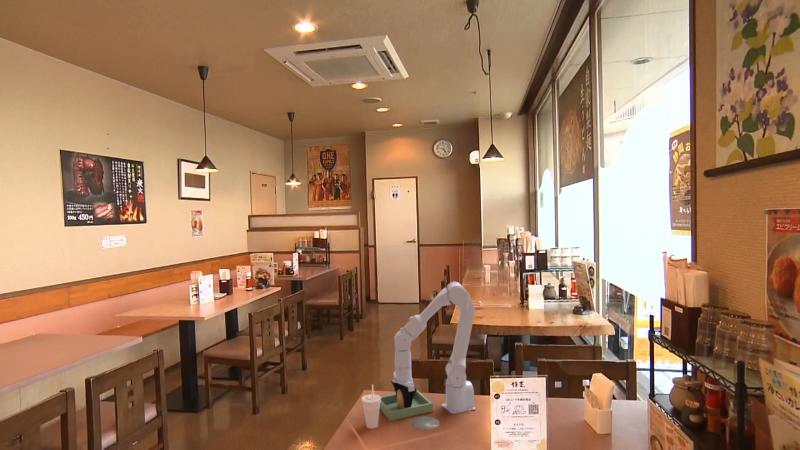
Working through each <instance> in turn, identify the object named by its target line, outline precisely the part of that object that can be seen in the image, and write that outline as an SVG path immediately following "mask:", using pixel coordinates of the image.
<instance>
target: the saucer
mask: <svg viewBox="0 0 800 450" xmlns="http://www.w3.org/2000/svg"><path fill="white" fill-rule="evenodd" d="M411 426H413V428H414V429H417V430H421V431H430V430H434V429H437V428H438V427H439V426H440V421H439V420H438V419H437V418H435V417H432V416H419V417H416V418H414V419H412V421H411Z"/></svg>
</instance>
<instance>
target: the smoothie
mask: <svg viewBox="0 0 800 450" xmlns="http://www.w3.org/2000/svg"><path fill="white" fill-rule="evenodd" d="M374 392H375V391H374V384H371V393H369V394H365V395H363V396H362V397H361V402H360V403H361V404H362V408H363V414H364V420H365V426H366V428H367V429H376V428H378V427H379V420H380V419H379V418H380V402H381V397H382V396H381V395H379V394H376V393H374Z"/></svg>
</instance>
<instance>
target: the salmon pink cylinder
mask: <svg viewBox="0 0 800 450" xmlns="http://www.w3.org/2000/svg"><path fill="white" fill-rule="evenodd" d="M397 408H398V410H399V409H404V408H405V407H404V401H403V396H402V393H401V391H400V389H399V390H397Z"/></svg>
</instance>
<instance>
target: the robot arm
mask: <svg viewBox="0 0 800 450" xmlns="http://www.w3.org/2000/svg"><path fill="white" fill-rule="evenodd" d="M451 303H452V304H454V305H455V306H456V307H457V308H458V309H459V318H458V322H457V327H456V333H455V338H454V343H453V348H452V353H451V355H450V356H449V357H450V358H449V360H448V362H447V363H446V364H445V373H446V376H447V378H446V380H445V403H442V404H441V407H443V408H444V409H446V410H447V411H448V412H449V413H450V414H453V415H454V414H457V413H462V412H466V411H475V410H476V407H475V390H474V386H473V384H472V382H471V381H470V380H467V374H466V369H467V365H466V364H467V362H466V361H467V360H466V358H467V354H468V353H467V352H468V350H469V349H468V348H469V343H470V339H471V334H472V329H473V323H474V320H475V319H474V318H475V313H476V308H475V305H474V302H473V300H472V297H471V295H470V293H469V292H468V291H467V290H466V288H465V287H464V286H463V285H462V284H461V283H460V282H458V281H452V282H449V283H448V284H447V285H446V287H443V289H441V291H440V292H438V293H437V295H436V296H435V297H434V298H433V299H432V300H431V301H430V303H429V304H428V305H427V306H426V308H424V310H423V311H422V312H421V313H420V314H415V315H413V316H412V315H411V316H410V317H408V322H407V323H405V325H404V326H403V327H400V328H399V331H397V332H396V333H395V335H394V338H393V342H394V351H395V352H394V369H395V370H394V371H393V373H392V375H393V378H392V379H391V382H390V383H391V384H392V386H393V388H394V391H395V394H396V397H397V390H399V389H400V391H401V393H402V396H403V401H404V407H405V408H409V407H411V405H412V401H413V397H414V395H415V393H416V391H417V390H418V388H416V387H415V384H414V380H413V377H412V352H411V347H412V341H415V340H416V339H417V338H418V337H419V335H420V334H421V333H422V332H423V331H424V330H425V329H426V328H427V322H428V321H429V320H430V319H431V318H432V317H433V316H434V315H435V314H436V313H437V312H438V311H439V310H440V309H441V308H442V307H445V306H451Z"/></svg>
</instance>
